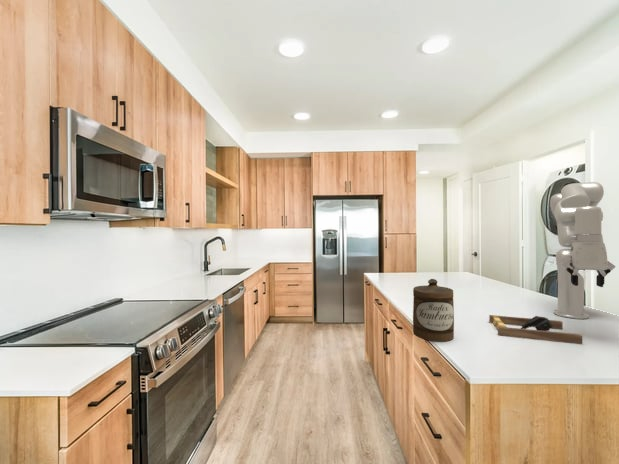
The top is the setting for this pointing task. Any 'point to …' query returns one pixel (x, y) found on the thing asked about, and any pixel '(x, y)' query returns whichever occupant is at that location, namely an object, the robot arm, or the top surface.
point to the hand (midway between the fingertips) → (587, 285)
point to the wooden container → (433, 312)
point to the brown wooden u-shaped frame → (532, 334)
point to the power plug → (538, 323)
